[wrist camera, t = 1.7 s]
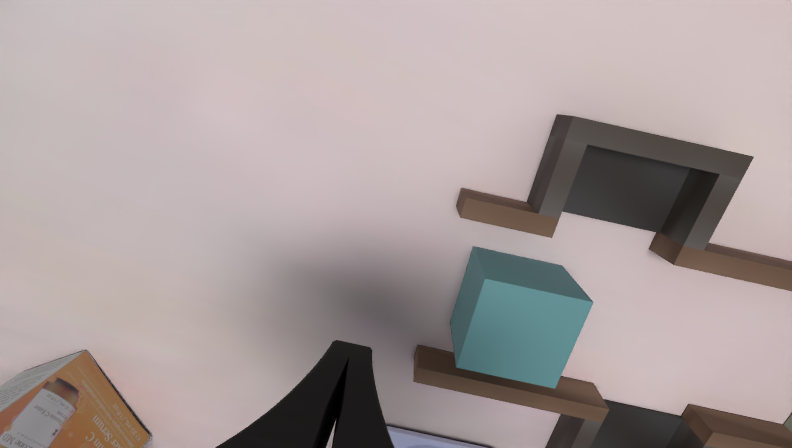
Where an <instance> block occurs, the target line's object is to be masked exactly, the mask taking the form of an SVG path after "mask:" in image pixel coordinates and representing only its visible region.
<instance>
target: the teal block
mask: <svg viewBox="0 0 792 448" xmlns="http://www.w3.org/2000/svg"><path fill="white" fill-rule="evenodd" d="M592 304H593V301H592V300H591V299H590V298H589V297H588V295H587V294H586V293H585V292H584V291H583V290H582V288H581V287H580V286H579V285H578V284H577V283H576V281H575V280H574V279H573V278H572V277H571V276H570V274H569V273H568V272H567V271H566V270H565V269H564V267H563V266H561V265H557V264H552V263H548V262H543V261H539V260H534V259H529V258H525V257H520V256H516V255H511V254H506V253H502V252H497V251H493V250H488V249H484V248H479V247H474V246H473V249H472V252H471V255H470V259H469V262H468V265H467V268H466V272H465V275H464V278H463V282H462V285H461V288H460V292H459V295H458V298H457V302H456V305H455V308H454V312H453V315H452V318H451V321H450V325H451V332H452V340H453V347H454V354H455V362H456V368H461V369H466V370H470V371H475V372H480V373H484V374H489V375H494V376H498V377H503V378H508V379H512V380H517V381H521V382H526V383H531V384H535V385H540V386H545V387H549V388H554V389H555V388H556V385H557V383H558V381H559V379H560V376H561V374H562V372H563V370H564V367H565V365H566V363H567V361H568V358H569V356H570V354H571V352H572V349H573V347H574V345H575V343H576V340H577V338H578V336H579V334H580V331H581V329H582V327H583V325H584V322H585V320H586V318H587V316H588V313H589V311H590V309H591V307H592Z"/></svg>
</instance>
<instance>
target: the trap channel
mask: <svg viewBox="0 0 792 448" xmlns="http://www.w3.org/2000/svg"><path fill="white" fill-rule="evenodd" d="M753 158H754V157H753V156H748V155H744V154H739V153H735V152H731V151H726V150H722V149H717V148H713V147H708V146H704V145H699V144H695V143H691V142H686V141H682V140H677V139H673V138H668V137H664V136H659V135H655V134H651V133H646V132H642V131H637V130H633V129H628V128H624V127H619V126H615V125H611V124H606V123H602V122H597V121H593V120H588V119H584V118H579V117H575V116H567V115H558V114H557V116H556V119H555V122H554V125H553V128H552V131H551V134H550V137H549V139H548V142H547V145H546V148H545V151H544V154H543V157H542V160H541V163H540V166H539V169H538V172H537V174H536V177H535V180H534V183H533V186H532V189H531V192H530V195H529V198H528V201H527V203H526V202H522V201H517V200H513V199H508V198H504V197H499V196H495V195H490V194H486V193H481V192H477V191H473V190H468V189H464V188H461V191H460V195H459V198H458V202H457V205H456V207H457V210H458V213H459V215H460V218H465V219H469V220H474V221H478V222H483V223H487V224H492V225H496V226H501V227H505V228H510V229H514V230H519V231H523V232H528V233H532V234H537V235H541V236H546V237H550V238H552V236H553V234H554V231H555V228H556V226H557V223H558V221H559V218H560V215H561V213H562V211H563V212H568V213H572V214H577V215H581V216H586V217H590V218H595V219H599V220H604V221H608V222H613V223H617V224H622V225H626V226H631V227H635V228H640V229H644V230H649V231H653V232H657V233H656V235H655V238H654V240H653V242H652V244H651V246H650V248H649V249H650V250H652V251H653V252H655V253H656V254H658V255H659V256H661V257H662V258H664V259H665V260H667V261H668V262H670V263H672V264H673V265H676V266H681V267H685V268H690V269H694V270H699V271H703V272H708V273H712V274H717V275H721V276H726V277H730V278H735V279H739V280H744V281H749V282H753V283H758V284H762V285H767V286H771V287H776V288H780V289H785V290H789V291H792V262H791V261H787V260H782V259H778V258H773V257H769V256H764V255H760V254H755V253H751V252H746V251H742V250H737V249H733V248H728V247H724V246H720V245H715V244H711V243H708V242H709V240H710V238H711V236H712V234H713V233H714V231H715V229H716V227H717V225H718V223H719V221H720V219H721V218H722V216H723V214H724V212H725V210H726V208H727V206H728V204H729V203H730V201H731V199H732V197H733V195H734V193H735V191H736V189H737V188H738V186H739V184H740V182H741V180H742V178H743V176H744V174H745V173H746V171H747V169H748V167H749V165H750V163H751V161H752V159H753ZM414 382H417V383H422V384H426V385H431V386H436V387H440V388H445V389H449V390H454V391H459V392H463V393H468V394H472V395H477V396H482V397H486V398H491V399H495V400H500V401H505V402H509V403H514V404H518V405H523V406H528V407H532V408H537V409H541V410H546V411H550V412H555V413H560V414H561V416H560V418H559V421H558V423H557V425H556V427H555V429H554V431H553V433H552V435H551V438H550V440H549V442H548V444H547V446H546V448H792V414H791V415H790V417H789V418H788V419H787V421H786V422H785V424H784V425H782V424H777V423H772V422H768V421H763V420H759V419H754V418H750V417H745V416H740V415H736V414H731V413H727V412H722V411H718V410H713V409H708V408H704V407H699V406H695V405H690V404H688V406H687V408H686V409H685V411H684V413H683V414H682V416H677V415H672V414H668V413H663V412H658V411H654V410H649V409H645V408H640V407H635V406H631V405H626V404H622V403H617V402H613V401H608V400H603V398H602V397H601V395H600V393H599V392H598V390H597V388H596V387H595V385H594V383H589V382H585V381H580V380H576V379H571V378H567V377H562V376H560V379H559V381H558V383H557V385H556V388H555V389H554V388H549V387H545V386H540V385H535V384H531V383H526V382H521V381H517V380H512V379H508V378H503V377H498V376H494V375H489V374H484V373H480V372H475V371H470V370H466V369H461V368H456V362H455V354H454V353H452V352H448V351H443V350H439V349H434V348H429V347H425V346H420V345H418V346H417V349H416V353H415V357H414Z"/></svg>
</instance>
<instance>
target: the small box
mask: <svg viewBox="0 0 792 448" xmlns="http://www.w3.org/2000/svg"><path fill="white" fill-rule="evenodd" d="M149 438H150V436H149V435H148V433H147V432H146V431H145V430H144V429H143V427H142V426H141V425H140V424H139V423H138V421H137V420H136V419H135V417H134V416H133V415H132V413H131V412H130V411H129V409H128V408H127V407H126V405H125V404H124V402H123V401H122V400H121V398H120V397H119V396H118V394H117V393H116V391H115V390H114V389H113V387H112V386H111V384H110V383H109V382H108V380H107V379H106V378H105V376H104V375H103V373H102V372H101V370H100V369H99V367H98V366H97V364H96V363H95V360H94V359H93V358H92V356H91V355H90V354H89V352H88V351H81V352H78V353H76V354H73V355H70V356H67V357H64V358H61V359H58V360H55V361H52V362H49V363H46V364H43V365H41V366H38V367H35V368H32V369H29V370H26V371H24V372H22V373H20V374H19V375H17V376H16V377H14V378H13V379H11V380H10V381H8V382H7V383H5V384H4V385H2V386H1V387H0V448H142V447H143V446H144V445H145V444H146V443H147V441H148V440H149Z"/></svg>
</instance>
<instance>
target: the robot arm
mask: <svg viewBox="0 0 792 448" xmlns="http://www.w3.org/2000/svg"><path fill="white" fill-rule="evenodd" d="M336 417H337V418H336ZM335 420H336V424H335V430H334V437H333V443H332V448H487V447H482V446H478V445H473V444H468V443H464V442H459V441H454V440H450V439H445V438H441V437H436V436H431V435H427V434H422V433H417V432H413V431H408V430H404V429H399V428H394V427H390V426H386V423H385V420H384V417H383V414H382V410H381V407H380V403H379V399H378V395H377V390H376V386H375V381H374V375H373V367H372V350H371V348H370V347H366V346H361V345H357V344H352V343H348V342H343V341H338V340H336V341H334V342H332V344H331V346H330V347H329V349H328V350H327V352H326V353H325V354H324V356H323V357H322V358H321V359H320V361H319V362H318V363H317V364H316V365H315V367H314V368H313V369H312V370H311V371H310V372H309V373H308V374H307V376H306V377H305V378H304V379H303V380H302V381H301V382H300V383H299V384H298V385H297V386H296V387H295V388H294V389H293V390H292V391H291V392H290V393H289V394H288V395H286V396H285V397H284V398H283V399H282V400H281V401H280V402H279V403H277V404H276V405H275V406H274V407H273V408H271V409H270V410H269V411H268V412H267V413H265V414H264V415H263V416H261V417H260V418H259V419H257V420H256V421H255V422H253V423H252V424H251V425H249V426H248V427H247V428H245V429H244V430H242V431H241V432H239V433H238V434H236V435H235V436H233V437H231V438H230V439H228V440H227V441H225V442H224V443H222V444H220V445H219V446H217V447H216V448H326V446H327V443H328V440H329V437H330V434H331V432H332V429H333V426H334V423H335Z"/></svg>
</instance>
